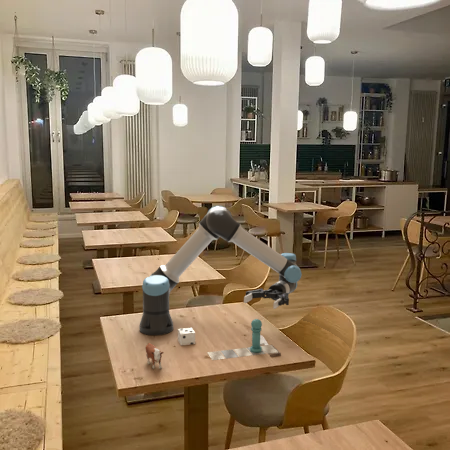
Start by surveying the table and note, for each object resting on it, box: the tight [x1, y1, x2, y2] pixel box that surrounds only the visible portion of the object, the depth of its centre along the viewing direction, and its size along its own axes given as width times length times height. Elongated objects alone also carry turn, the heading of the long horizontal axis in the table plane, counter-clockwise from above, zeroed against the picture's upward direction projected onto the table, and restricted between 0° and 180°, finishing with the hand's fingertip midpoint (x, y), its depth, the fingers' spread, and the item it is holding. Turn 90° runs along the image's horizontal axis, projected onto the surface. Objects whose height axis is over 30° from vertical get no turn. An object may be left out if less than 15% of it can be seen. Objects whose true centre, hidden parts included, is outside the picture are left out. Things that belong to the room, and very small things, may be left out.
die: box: [177, 327, 196, 346], centre depth 204 cm, size 6×6×6 cm
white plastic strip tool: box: [260, 334, 270, 346], centre depth 207 cm, size 5×15×1 cm, turn 10°
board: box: [206, 344, 282, 361], centre depth 194 cm, size 28×9×1 cm, turn 107°
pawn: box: [249, 318, 263, 353], centre depth 195 cm, size 5×5×13 cm
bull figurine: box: [145, 342, 164, 370], centre depth 183 cm, size 4×13×8 cm, turn 24°
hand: (259, 302), depth 207 cm, fingers open, 13 cm apart
